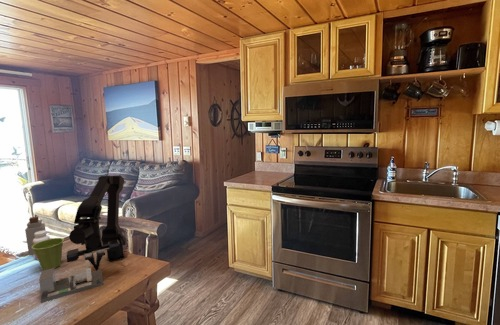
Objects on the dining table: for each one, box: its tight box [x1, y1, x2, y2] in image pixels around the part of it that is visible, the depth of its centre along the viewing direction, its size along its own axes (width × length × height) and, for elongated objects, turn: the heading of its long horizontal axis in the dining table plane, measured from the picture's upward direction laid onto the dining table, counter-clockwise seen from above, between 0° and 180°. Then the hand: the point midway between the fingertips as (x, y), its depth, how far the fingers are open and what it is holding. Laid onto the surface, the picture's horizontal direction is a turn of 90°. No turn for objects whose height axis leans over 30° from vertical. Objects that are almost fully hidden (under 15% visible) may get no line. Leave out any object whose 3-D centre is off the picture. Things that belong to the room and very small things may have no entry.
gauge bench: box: [38, 268, 104, 304], centre depth 110 cm, size 20×12×7 cm, turn 121°
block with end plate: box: [67, 260, 92, 287], centre depth 111 cm, size 8×10×6 cm
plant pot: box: [32, 237, 65, 271], centre depth 126 cm, size 12×12×11 cm
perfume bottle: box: [24, 216, 47, 257], centre depth 143 cm, size 7×7×18 cm
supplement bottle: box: [33, 231, 51, 261], centre depth 136 cm, size 7×7×13 cm
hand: (96, 270), depth 115 cm, fingers closed
